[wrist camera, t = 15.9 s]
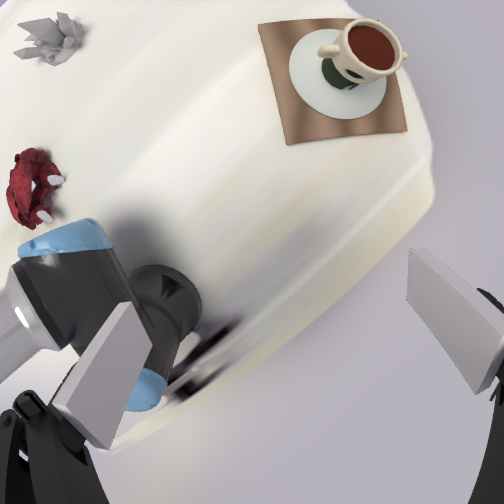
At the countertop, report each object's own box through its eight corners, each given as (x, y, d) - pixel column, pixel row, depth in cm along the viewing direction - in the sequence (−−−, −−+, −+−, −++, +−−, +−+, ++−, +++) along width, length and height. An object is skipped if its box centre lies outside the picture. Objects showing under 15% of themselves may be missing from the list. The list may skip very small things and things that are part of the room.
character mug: (308, 94, 33) (332, 72, 21) (300, 50, 31) (319, 13, 19) (377, 94, 33) (423, 80, 21) (369, 52, 30) (410, 25, 18)
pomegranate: (25, 153, 39) (6, 140, 30) (75, 158, 43) (59, 142, 34) (9, 225, 39) (-14, 222, 30) (58, 234, 42) (38, 232, 34)
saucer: (300, 125, 36) (301, 124, 35) (278, 34, 31) (278, 32, 30) (392, 116, 35) (395, 116, 34) (370, 31, 29) (372, 29, 28)
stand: (286, 144, 39) (287, 144, 37) (257, 28, 31) (257, 24, 30) (403, 131, 37) (407, 131, 35) (375, 23, 30) (378, 20, 28)
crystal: (39, 40, 29) (-8, 28, 15) (89, 11, 28) (45, -15, 14) (37, 78, 32) (-15, 72, 18) (88, 50, 31) (36, 30, 18)
